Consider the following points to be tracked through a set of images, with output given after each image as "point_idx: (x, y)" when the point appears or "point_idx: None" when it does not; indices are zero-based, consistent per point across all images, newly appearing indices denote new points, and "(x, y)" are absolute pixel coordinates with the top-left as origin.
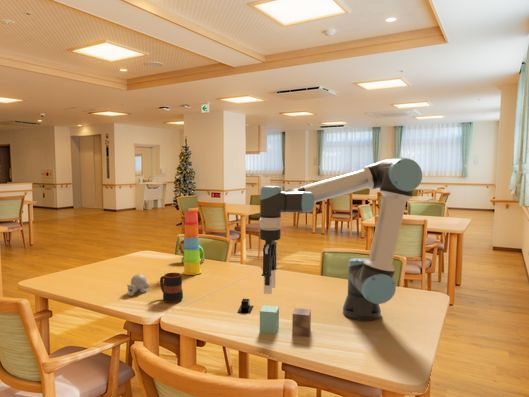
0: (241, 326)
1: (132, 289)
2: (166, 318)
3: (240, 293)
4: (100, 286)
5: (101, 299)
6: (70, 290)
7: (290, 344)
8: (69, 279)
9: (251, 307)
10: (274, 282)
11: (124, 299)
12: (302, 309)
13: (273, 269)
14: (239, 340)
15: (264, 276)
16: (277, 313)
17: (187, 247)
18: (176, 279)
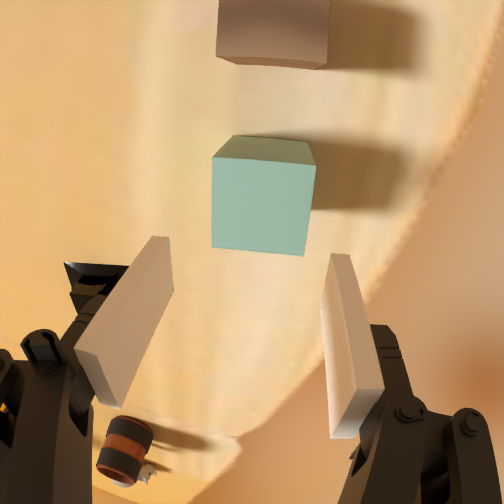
0: (253, 280)
1: (148, 474)
2: (238, 430)
3: (13, 306)
4: (136, 481)
5: (184, 483)
6: (168, 496)
7: (401, 81)
8: (134, 494)
9: (81, 268)
10: (152, 268)
11: (169, 469)
12: (233, 8)
13: (78, 375)
14: (375, 270)
15: (353, 429)
16: (265, 155)
17: None
18: (125, 469)
